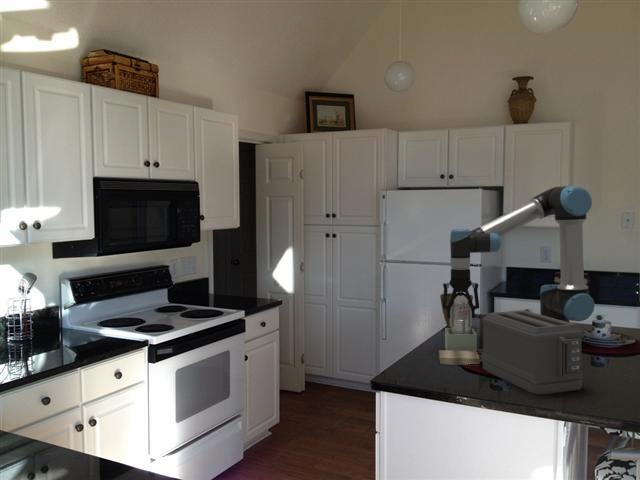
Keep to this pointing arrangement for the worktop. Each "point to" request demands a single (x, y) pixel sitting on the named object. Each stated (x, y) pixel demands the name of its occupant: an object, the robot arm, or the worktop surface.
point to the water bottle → (460, 314)
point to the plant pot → (451, 306)
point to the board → (458, 357)
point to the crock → (460, 341)
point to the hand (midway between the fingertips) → (460, 325)
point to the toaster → (533, 351)
